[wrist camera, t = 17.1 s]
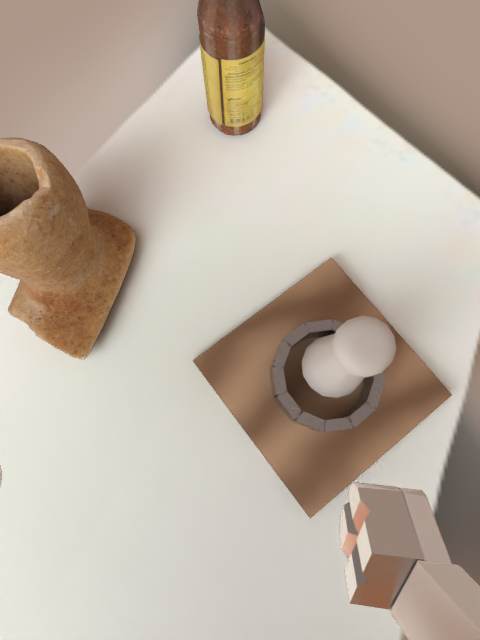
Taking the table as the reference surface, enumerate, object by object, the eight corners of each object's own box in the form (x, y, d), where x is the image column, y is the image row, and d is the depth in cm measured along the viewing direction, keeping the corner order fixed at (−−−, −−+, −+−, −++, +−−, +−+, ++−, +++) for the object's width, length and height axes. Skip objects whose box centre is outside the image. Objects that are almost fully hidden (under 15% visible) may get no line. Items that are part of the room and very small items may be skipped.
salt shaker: (360, 397, 40) (418, 383, 27) (301, 401, 40) (333, 389, 27) (352, 338, 42) (403, 299, 29) (295, 342, 41) (322, 304, 29)
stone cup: (53, 200, 46) (-30, 95, 32) (152, 235, 45) (114, 143, 31) (-15, 324, 42) (-143, 270, 28) (92, 364, 41) (16, 330, 27)
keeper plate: (446, 395, 41) (451, 394, 40) (308, 516, 38) (310, 518, 37) (329, 261, 45) (331, 257, 44) (193, 361, 42) (192, 360, 41)
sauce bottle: (269, 106, 50) (292, -98, 30) (247, 146, 48) (256, -41, 29) (219, 86, 50) (212, -126, 31) (196, 125, 49) (173, -72, 30)
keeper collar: (393, 387, 40) (406, 384, 37) (315, 452, 39) (322, 454, 36) (327, 308, 42) (334, 299, 39) (249, 368, 41) (251, 363, 38)
